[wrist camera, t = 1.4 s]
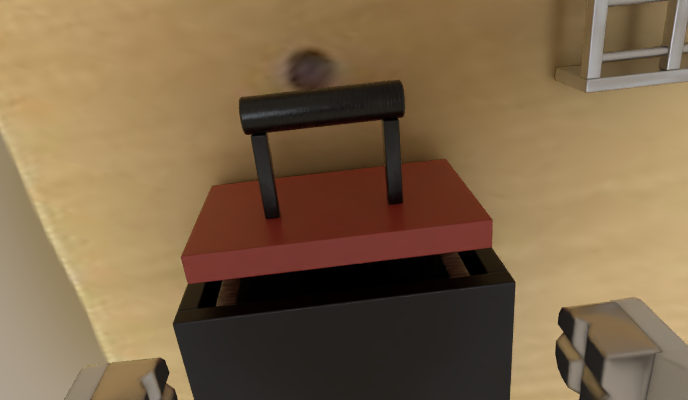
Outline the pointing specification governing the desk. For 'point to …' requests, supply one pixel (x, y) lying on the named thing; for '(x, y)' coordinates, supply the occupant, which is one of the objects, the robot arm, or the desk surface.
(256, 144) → the drawer
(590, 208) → the desk surface
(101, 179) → the desk surface
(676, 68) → the rack
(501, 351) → the black drawer cabinet
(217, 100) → the desk surface
